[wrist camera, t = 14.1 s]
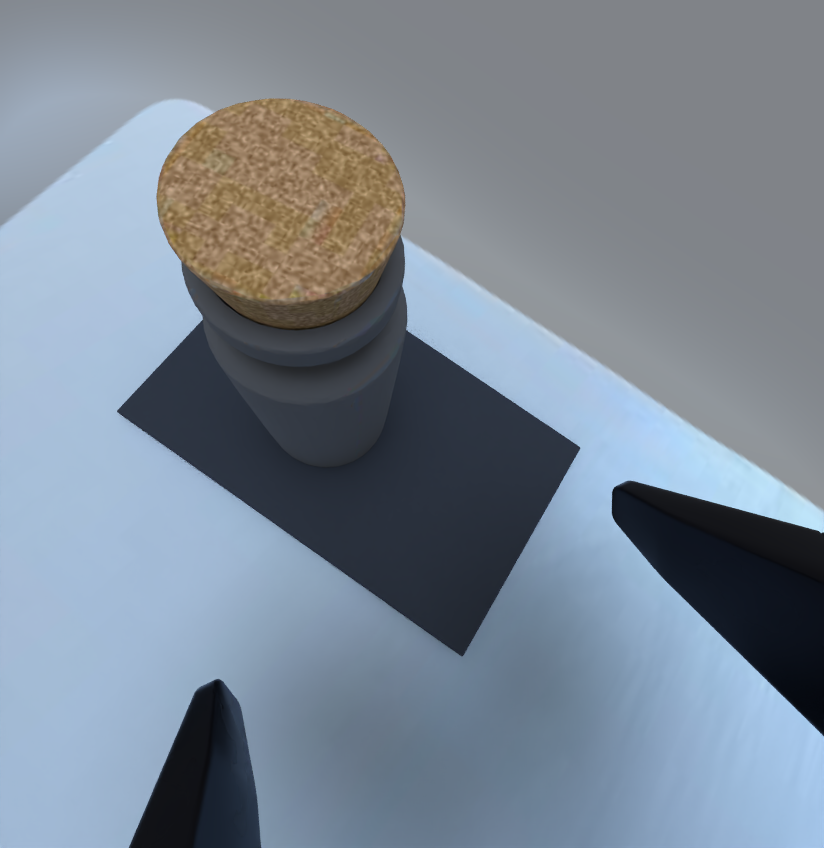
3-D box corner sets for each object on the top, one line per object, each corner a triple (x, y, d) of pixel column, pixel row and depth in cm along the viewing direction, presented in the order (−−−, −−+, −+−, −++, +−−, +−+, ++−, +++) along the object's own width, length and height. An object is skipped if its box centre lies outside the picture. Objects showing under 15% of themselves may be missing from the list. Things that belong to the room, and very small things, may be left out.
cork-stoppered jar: (330, 336, 24) (293, 30, 10) (409, 412, 24) (493, 206, 9) (243, 410, 23) (49, 175, 8) (326, 493, 22) (271, 396, 8)
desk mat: (577, 449, 25) (580, 447, 24) (460, 654, 21) (462, 656, 21) (276, 246, 26) (275, 241, 25) (120, 413, 22) (116, 411, 22)
